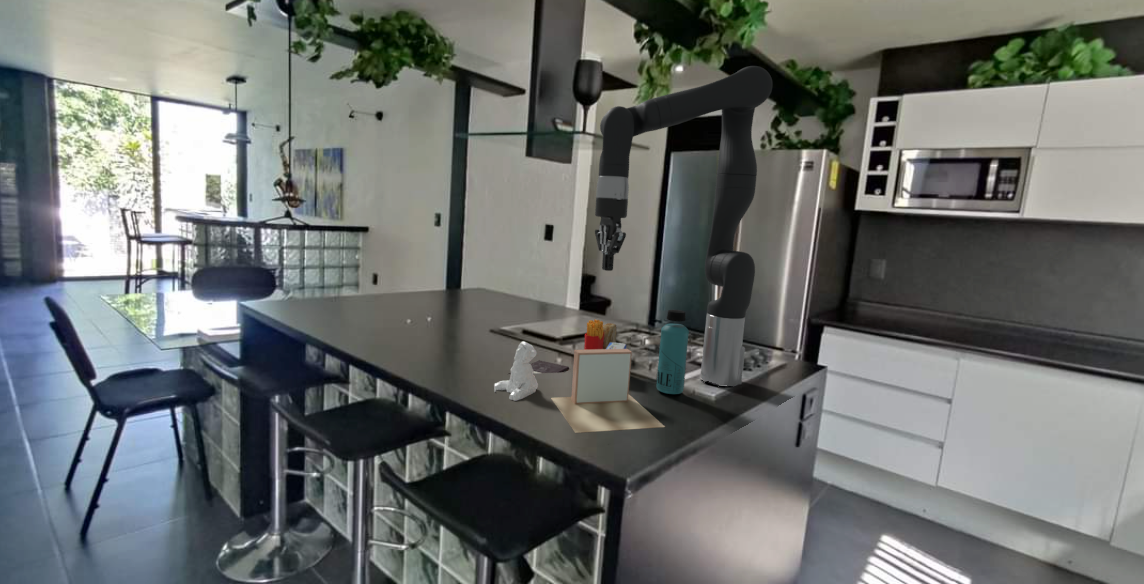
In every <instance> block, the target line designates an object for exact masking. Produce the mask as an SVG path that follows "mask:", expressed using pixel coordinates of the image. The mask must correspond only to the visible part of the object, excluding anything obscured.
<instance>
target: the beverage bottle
mask: <svg viewBox="0 0 1144 584" xmlns="http://www.w3.org/2000/svg"><path fill="white" fill-rule="evenodd" d="M666 320H667V321H672V322H686V311H684V310H680V309H668V311H667V316H666ZM689 333H690V331H689V329H688V328H687V327H686V325H683V324H680V323H666V324H664V325H663V326H662V327H661V329H660V338H659V339H660V341H659V346H658V347H659V349H658V362H657V369H656V370H657V372H656V377H655V378H656V379H655V383H656V385H655V386H656V390H657V391H659V392H661V393H664V394H667V395H668V394H669V395H680V394H682V393H683V391H684V389H685V384H686V383H685V380H686V369H687V365H686V364H687V355H688V342H689Z"/></svg>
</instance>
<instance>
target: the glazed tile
mask: <svg viewBox="0 0 1144 584" xmlns="http://www.w3.org/2000/svg"><path fill="white" fill-rule="evenodd" d="M632 352H633V351H631V350H630V349H628V348H626V349H591V350H584V349H574V351H573V366H572V367H573V368H572V382H571V383H572V384H571V396H570V397H571V400H572V402H573V403H574V404H586V403H606V402H626V401H628V394H629V391H630V378H631V367H632V366H631V365H632V356H633V353H632Z"/></svg>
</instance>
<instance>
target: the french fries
mask: <svg viewBox="0 0 1144 584" xmlns="http://www.w3.org/2000/svg"><path fill="white" fill-rule="evenodd" d="M603 325H604V321H602V320H600V319H596V318H595V319H594V320H591V319H590V320H588V322H586V333H585V334H584V346H583V347H584V348H583V350H591V349H603V341H604V329H603Z"/></svg>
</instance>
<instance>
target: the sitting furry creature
mask: <svg viewBox="0 0 1144 584" xmlns="http://www.w3.org/2000/svg"><path fill="white" fill-rule="evenodd" d="M536 356H537V350H536V349H535V348H534V346H533V345H532V344H530V343H528V342H526V341H524V340H523V341H521V342H520V343H519V344H518V346H517V348H516V350H515V355H514V357H513V364H512V367H511V368H510V373H511V374H509V376H510V377H509V380H507V379H506V380H499V381H498V382H495V383H493V387H494V388H493V392H494V393H497V391H506V393H510V394H509V397H508V399H509V400H511V401H514V402H515V401H520V400H523V399H524V398H527V397H529V396H530V395H532V394H535V393H536V391H537V389H538V386H539V383H538V381H537V378H536V376H535V373H533V369H532V366H531V364H532V363H530V362H531V361H532V360H533V359H534V358H535V357H536Z"/></svg>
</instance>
